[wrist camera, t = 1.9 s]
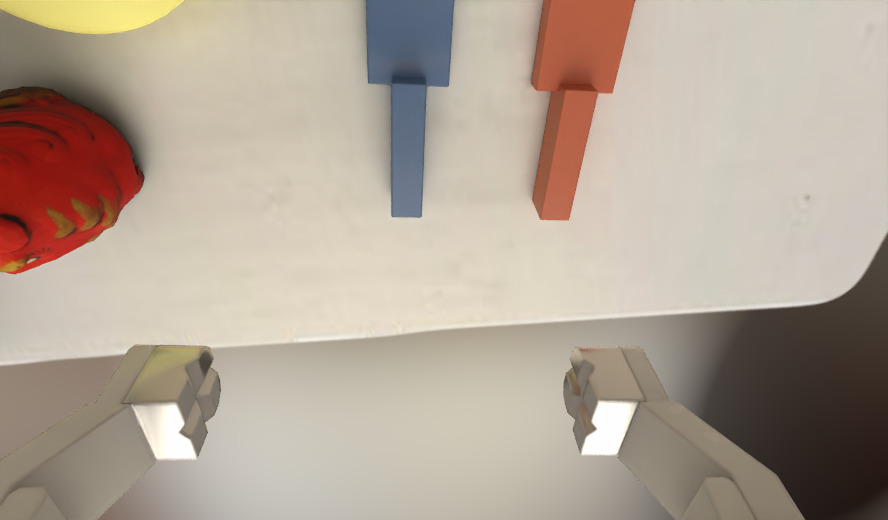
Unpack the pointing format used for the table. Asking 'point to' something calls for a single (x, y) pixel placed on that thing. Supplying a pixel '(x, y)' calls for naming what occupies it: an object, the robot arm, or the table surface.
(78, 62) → the table surface
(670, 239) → the table surface
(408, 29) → the paddle
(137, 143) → the table surface
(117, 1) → the emoji
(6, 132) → the red clay folk toy
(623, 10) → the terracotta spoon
